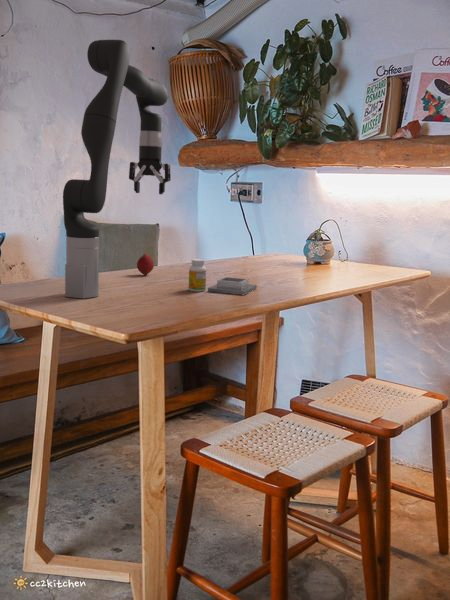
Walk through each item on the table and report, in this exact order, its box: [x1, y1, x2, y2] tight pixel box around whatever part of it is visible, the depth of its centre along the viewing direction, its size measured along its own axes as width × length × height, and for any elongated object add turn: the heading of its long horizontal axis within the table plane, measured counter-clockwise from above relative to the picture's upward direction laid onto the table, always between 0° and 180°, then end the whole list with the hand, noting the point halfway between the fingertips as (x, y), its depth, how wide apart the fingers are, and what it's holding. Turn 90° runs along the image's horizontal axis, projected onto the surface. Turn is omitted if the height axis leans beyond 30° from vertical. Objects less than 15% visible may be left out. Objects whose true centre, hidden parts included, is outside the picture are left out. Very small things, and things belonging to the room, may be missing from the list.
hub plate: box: [207, 276, 258, 296], centre depth 218 cm, size 14×12×3 cm
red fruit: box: [136, 252, 155, 276], centre depth 240 cm, size 6×6×8 cm
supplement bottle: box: [188, 258, 207, 293], centre depth 215 cm, size 5×5×10 cm
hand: (149, 193), depth 234 cm, fingers open, 8 cm apart
